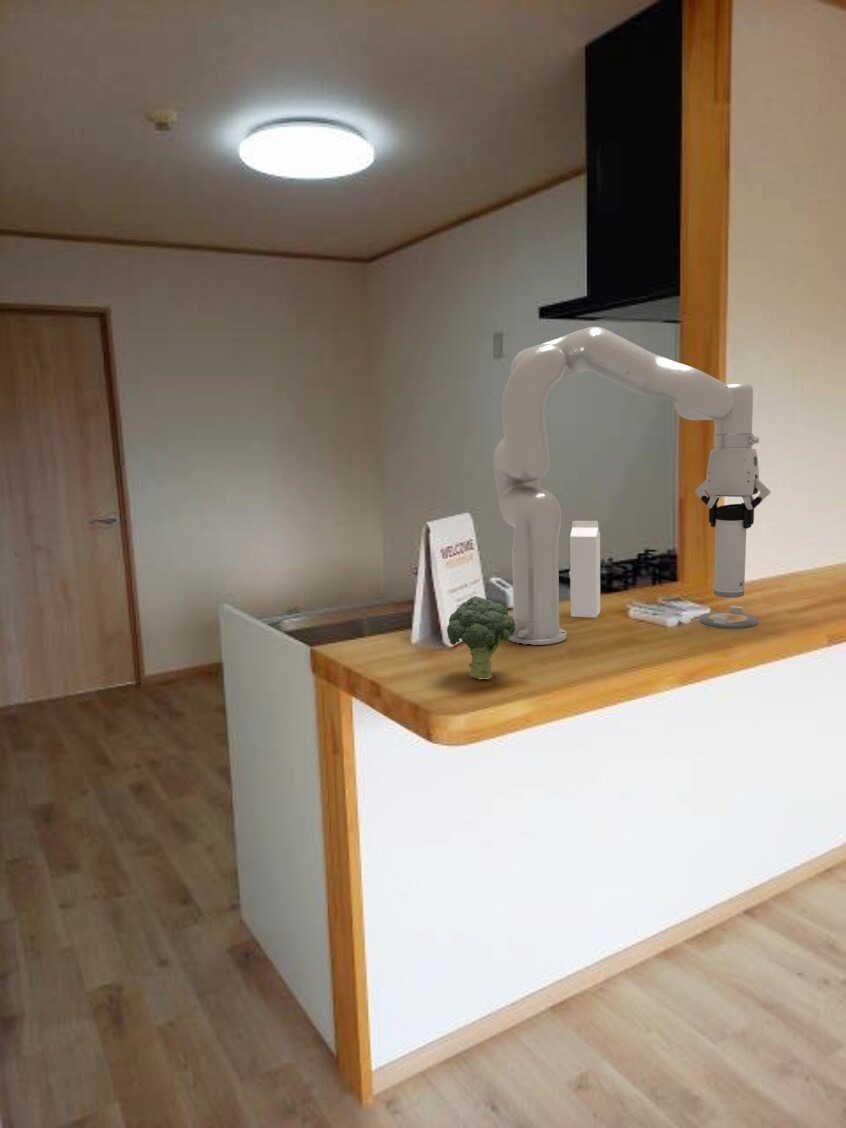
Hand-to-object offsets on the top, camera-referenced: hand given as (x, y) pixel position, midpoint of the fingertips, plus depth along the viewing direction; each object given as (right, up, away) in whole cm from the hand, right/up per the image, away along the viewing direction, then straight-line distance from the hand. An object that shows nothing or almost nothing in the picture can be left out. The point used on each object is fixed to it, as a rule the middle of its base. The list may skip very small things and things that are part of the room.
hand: (730, 526), depth 181 cm
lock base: (+1, -21, +4) cm, 21 cm away
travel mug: (+1, -15, +3) cm, 15 cm away
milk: (-28, -20, +15) cm, 38 cm away
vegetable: (-56, -29, -30) cm, 70 cm away
